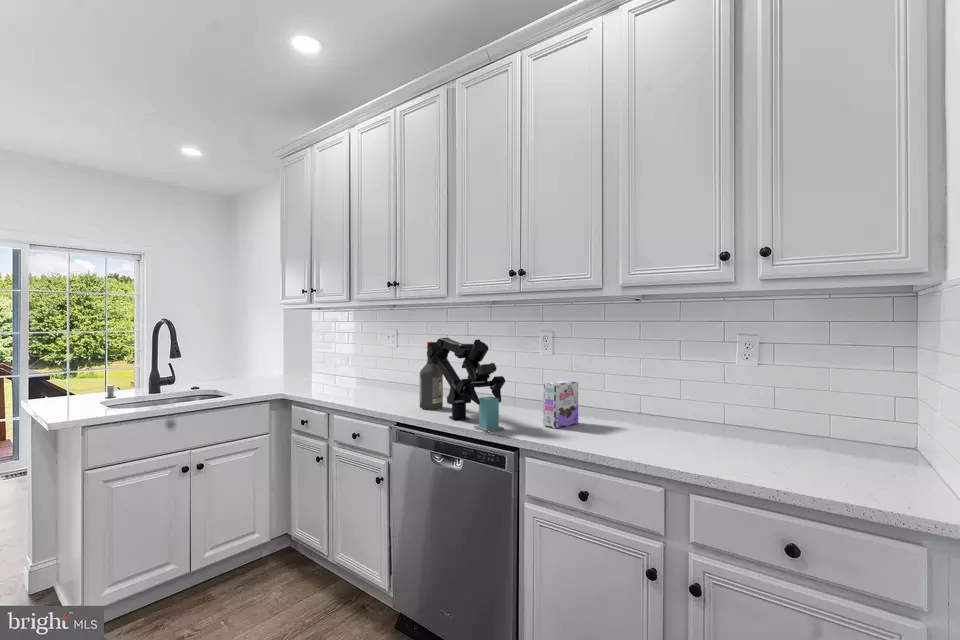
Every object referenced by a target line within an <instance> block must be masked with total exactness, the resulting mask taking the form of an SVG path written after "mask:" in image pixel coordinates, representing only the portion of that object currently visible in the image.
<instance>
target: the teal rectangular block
mask: <svg viewBox="0 0 960 640" xmlns="http://www.w3.org/2000/svg"><path fill="white" fill-rule="evenodd" d="M478 398H479V401H480V404H479V405H478V425H479V427H482V428H485V429H491V428H498V427H499V426H500V423H499V421H500V418H499V417H500V415H499V414H500V411H499V409H500V407H499V406H500V402H499V398H495V396H484V397H478Z"/></svg>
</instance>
